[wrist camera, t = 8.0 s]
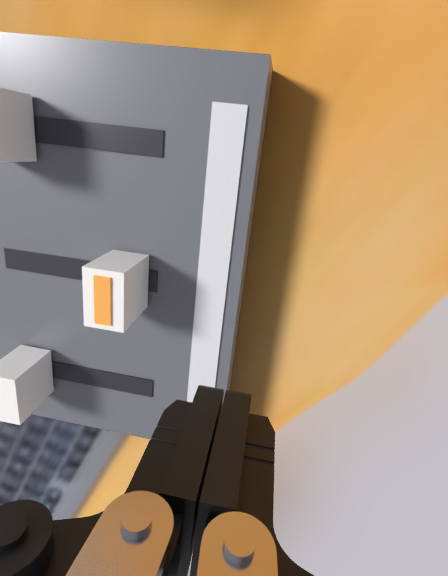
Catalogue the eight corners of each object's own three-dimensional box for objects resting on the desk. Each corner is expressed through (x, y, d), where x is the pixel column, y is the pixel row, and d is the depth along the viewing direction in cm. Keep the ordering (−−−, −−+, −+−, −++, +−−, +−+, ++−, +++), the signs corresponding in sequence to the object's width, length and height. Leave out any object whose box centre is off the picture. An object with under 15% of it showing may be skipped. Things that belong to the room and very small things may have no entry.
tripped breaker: (149, 254, 19) (122, 273, 16) (147, 306, 20) (122, 333, 17) (113, 249, 19) (80, 266, 16) (113, 301, 20) (82, 326, 17)
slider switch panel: (272, 70, 18) (270, 54, 15) (225, 421, 26) (217, 454, 23) (-51, 41, 20) (-108, 22, 17) (-4, 375, 28) (-38, 400, 25)
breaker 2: (50, 350, 22) (14, 380, 19) (53, 390, 23) (19, 425, 20) (20, 344, 22) (-20, 373, 19) (25, 384, 24) (-13, 418, 21)
